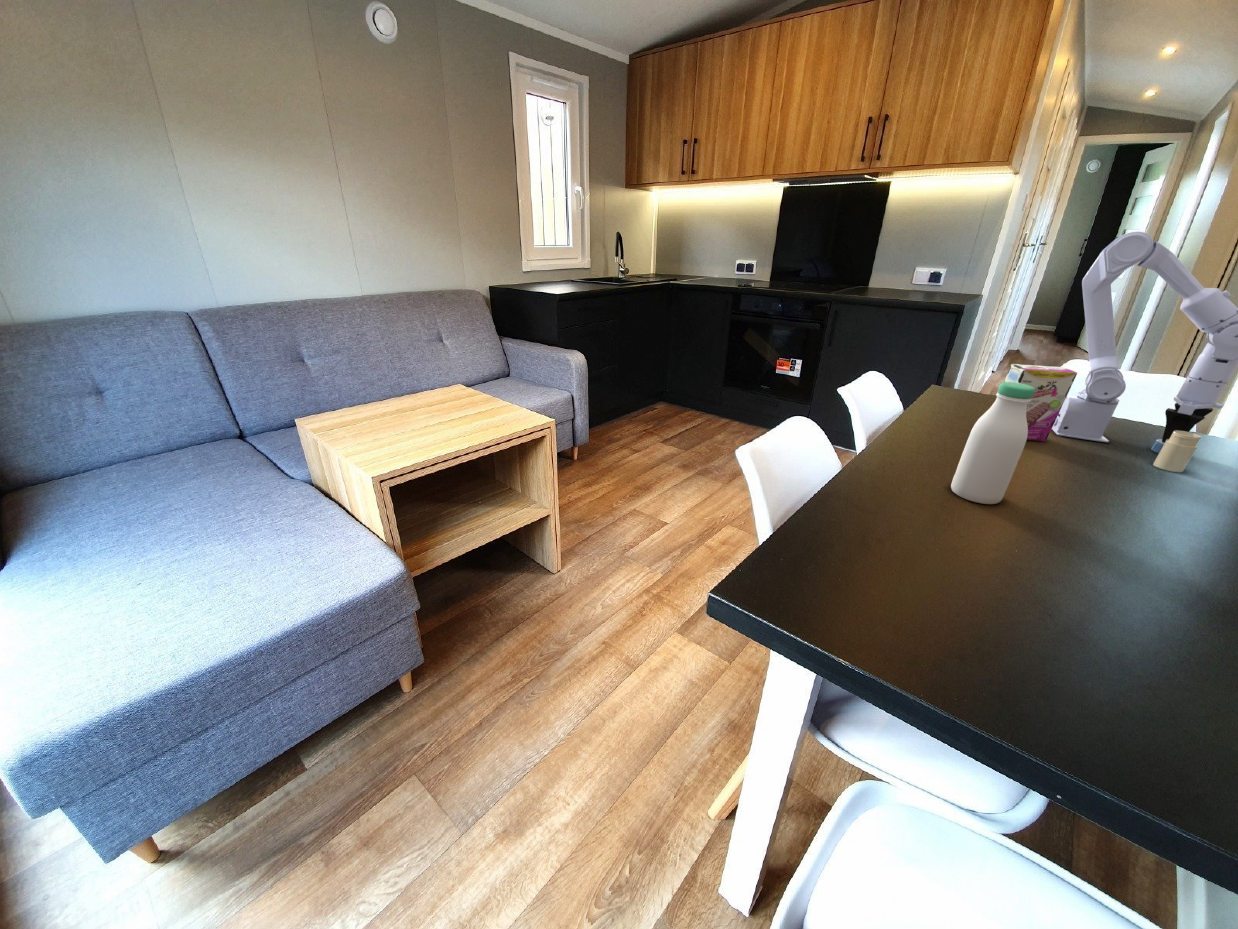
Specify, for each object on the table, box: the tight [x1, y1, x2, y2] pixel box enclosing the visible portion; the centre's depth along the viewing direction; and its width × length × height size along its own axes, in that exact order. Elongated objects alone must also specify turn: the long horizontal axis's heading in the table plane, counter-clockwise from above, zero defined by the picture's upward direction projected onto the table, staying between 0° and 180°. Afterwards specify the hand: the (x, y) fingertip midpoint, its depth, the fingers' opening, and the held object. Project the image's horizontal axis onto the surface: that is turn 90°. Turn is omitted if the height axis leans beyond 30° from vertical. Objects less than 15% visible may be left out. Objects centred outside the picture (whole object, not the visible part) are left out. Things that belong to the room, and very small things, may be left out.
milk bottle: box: [950, 381, 1035, 505], centre depth 82 cm, size 8×8×20 cm
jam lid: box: [1150, 438, 1164, 454], centre depth 107 cm, size 5×5×2 cm
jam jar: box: [1152, 430, 1202, 473], centre depth 99 cm, size 4×4×8 cm
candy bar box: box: [1004, 363, 1078, 442], centre depth 110 cm, size 11×5×16 cm, turn 84°
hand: (1172, 440), depth 107 cm, fingers open, 7 cm apart
